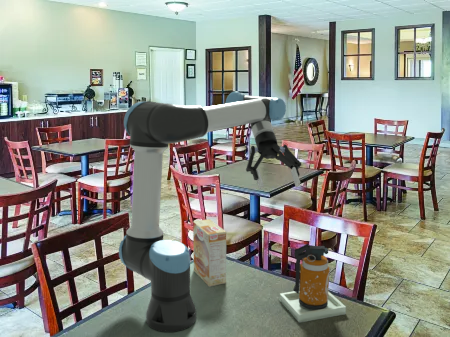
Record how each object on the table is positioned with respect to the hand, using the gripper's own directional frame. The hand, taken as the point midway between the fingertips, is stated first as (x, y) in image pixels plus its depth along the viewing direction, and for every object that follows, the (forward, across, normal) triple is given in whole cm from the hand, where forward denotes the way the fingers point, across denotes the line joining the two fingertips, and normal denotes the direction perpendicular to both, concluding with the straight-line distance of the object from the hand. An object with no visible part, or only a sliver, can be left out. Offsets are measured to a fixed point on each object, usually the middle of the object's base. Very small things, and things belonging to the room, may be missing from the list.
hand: (280, 186), depth 156 cm
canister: (+38, -3, -11) cm, 40 cm away
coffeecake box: (+17, +22, -33) cm, 43 cm away
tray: (+39, -4, -11) cm, 40 cm away
